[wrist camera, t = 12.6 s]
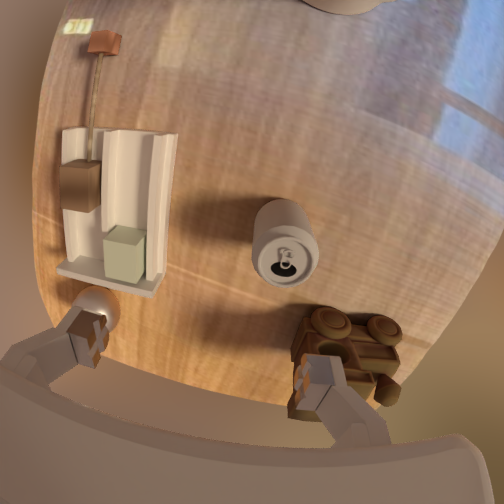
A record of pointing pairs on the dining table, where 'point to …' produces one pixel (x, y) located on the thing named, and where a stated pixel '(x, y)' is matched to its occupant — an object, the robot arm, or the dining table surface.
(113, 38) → the brown block pusher rod
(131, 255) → the sage block
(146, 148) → the lane shelf
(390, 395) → the wooden toy train
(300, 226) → the can
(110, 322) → the grey round lump
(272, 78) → the dining table surface
